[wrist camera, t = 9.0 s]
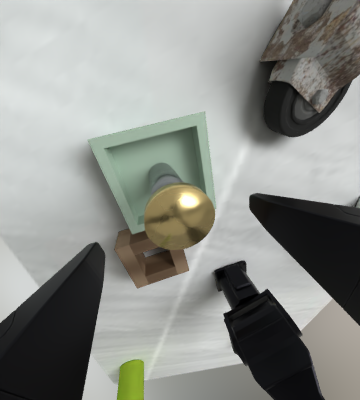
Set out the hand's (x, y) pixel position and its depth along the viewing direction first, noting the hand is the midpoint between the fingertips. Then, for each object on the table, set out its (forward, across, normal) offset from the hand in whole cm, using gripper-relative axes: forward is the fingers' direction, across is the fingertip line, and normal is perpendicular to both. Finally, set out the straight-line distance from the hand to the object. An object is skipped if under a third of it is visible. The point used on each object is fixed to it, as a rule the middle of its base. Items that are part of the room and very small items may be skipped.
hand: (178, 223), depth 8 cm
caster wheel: (+12, -18, -6) cm, 22 cm away
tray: (+12, 0, 0) cm, 12 cm away
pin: (+10, 0, 0) cm, 10 cm away
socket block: (+11, +4, +11) cm, 16 cm away
